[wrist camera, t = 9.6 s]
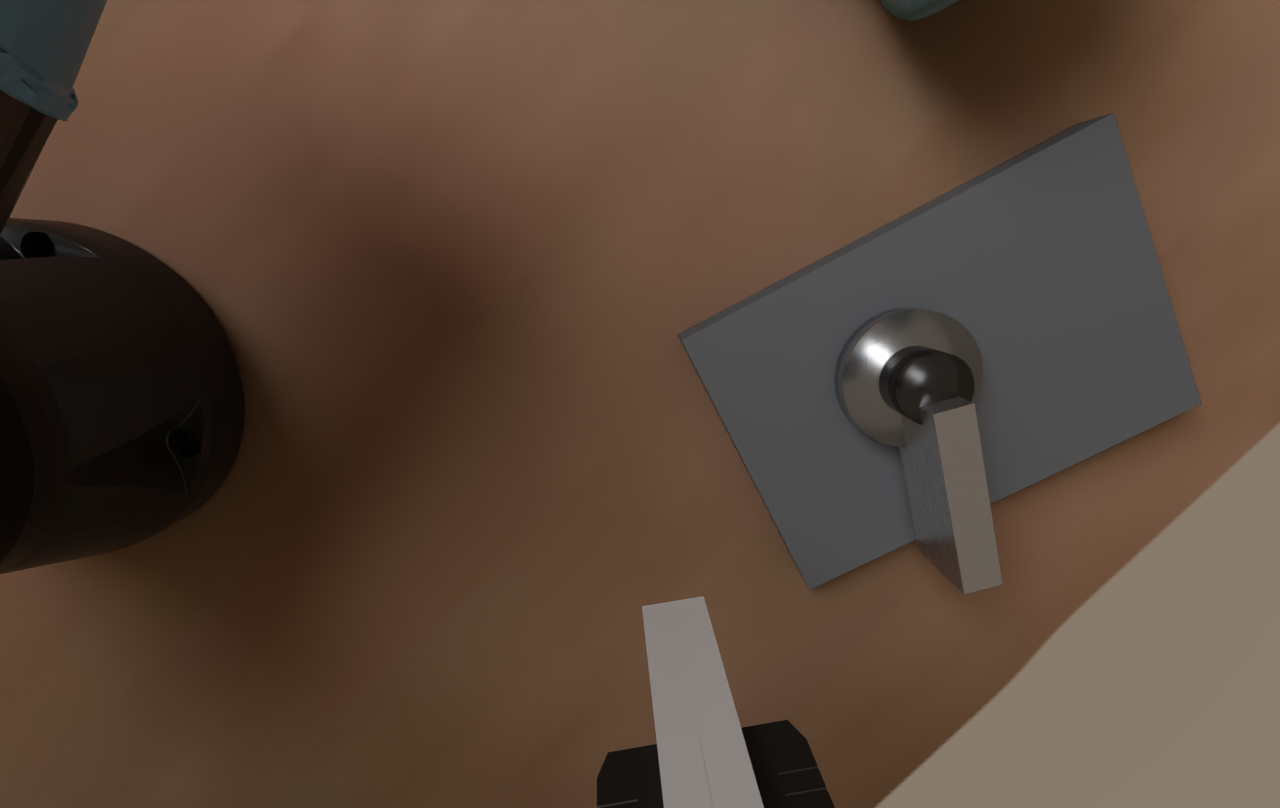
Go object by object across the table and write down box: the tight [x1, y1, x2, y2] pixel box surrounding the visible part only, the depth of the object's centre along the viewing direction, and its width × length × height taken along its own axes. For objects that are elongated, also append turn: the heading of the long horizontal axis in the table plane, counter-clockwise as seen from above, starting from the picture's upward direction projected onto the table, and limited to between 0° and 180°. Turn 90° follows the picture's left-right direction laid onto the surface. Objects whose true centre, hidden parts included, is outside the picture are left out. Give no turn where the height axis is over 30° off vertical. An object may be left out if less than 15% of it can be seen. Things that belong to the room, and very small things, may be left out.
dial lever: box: [835, 308, 1002, 594], centre depth 25 cm, size 12×6×4 cm, turn 16°
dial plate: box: [678, 113, 1202, 590], centre depth 28 cm, size 14×20×2 cm
